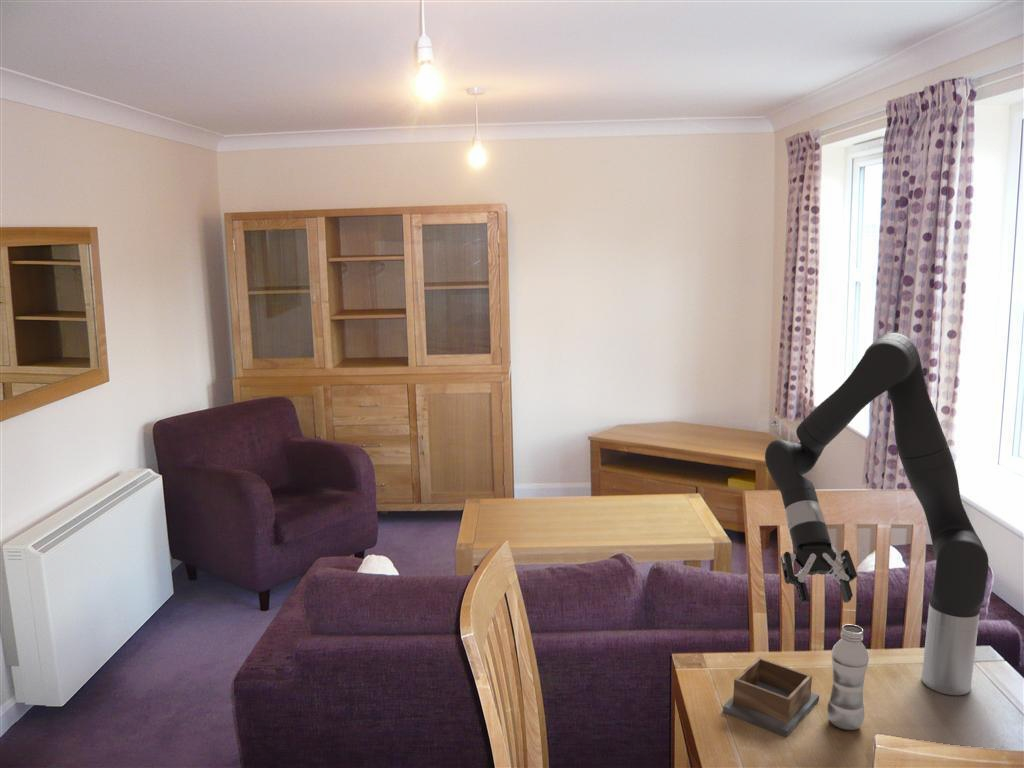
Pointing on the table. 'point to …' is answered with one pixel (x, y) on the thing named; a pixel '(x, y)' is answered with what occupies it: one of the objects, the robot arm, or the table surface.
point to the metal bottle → (848, 679)
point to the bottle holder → (772, 696)
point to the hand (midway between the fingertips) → (827, 602)
